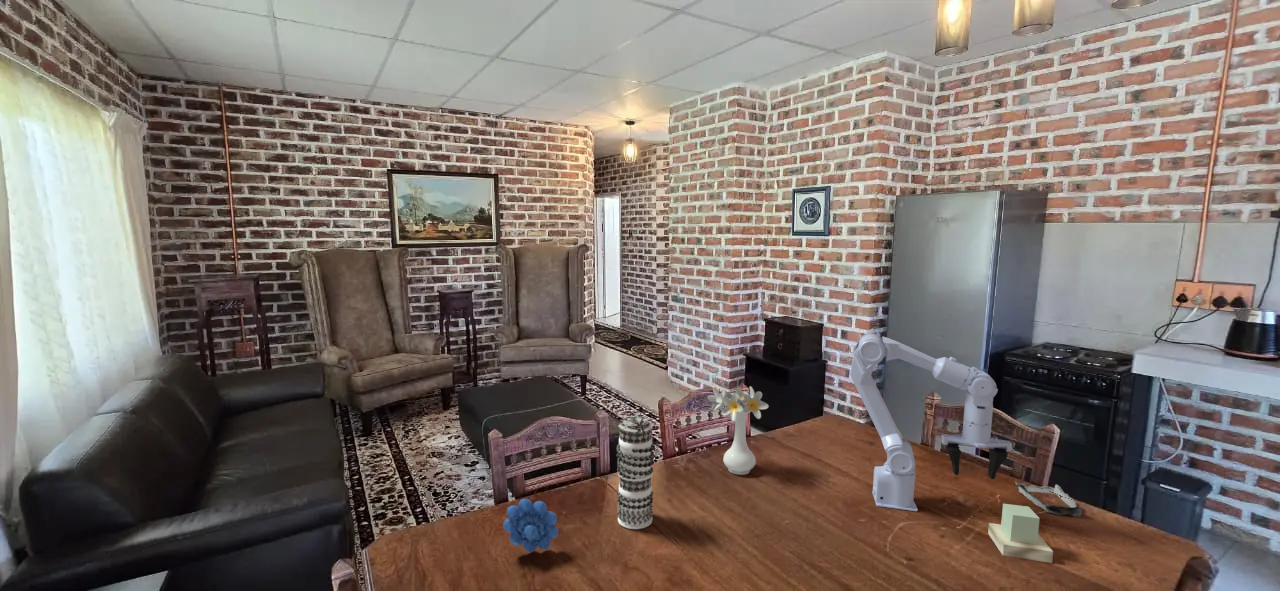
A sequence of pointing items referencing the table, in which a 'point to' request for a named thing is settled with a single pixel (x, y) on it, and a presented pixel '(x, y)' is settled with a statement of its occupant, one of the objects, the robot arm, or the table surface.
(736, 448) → the flower vase
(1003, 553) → the cream block
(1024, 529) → the sage block
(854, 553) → the table surface
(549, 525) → the blue flower
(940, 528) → the table surface
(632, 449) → the decorative candle
